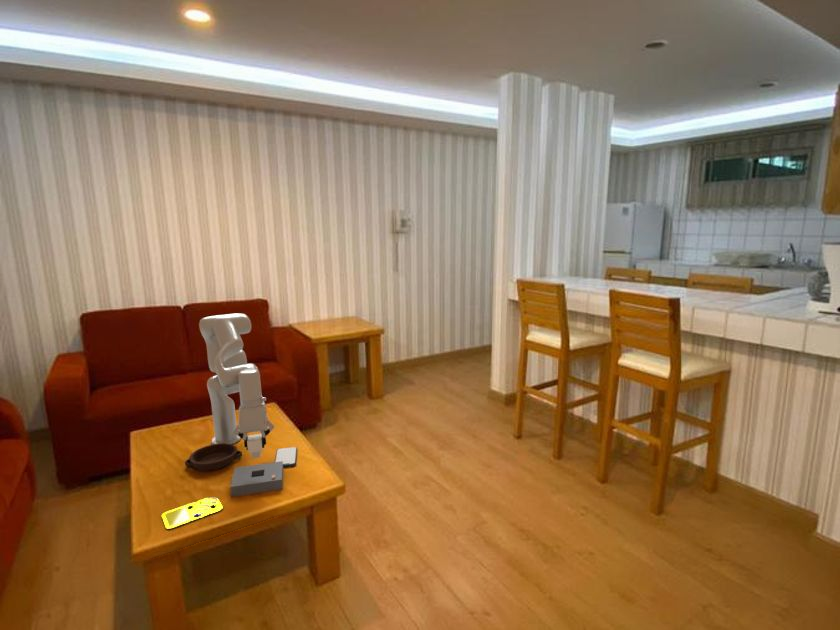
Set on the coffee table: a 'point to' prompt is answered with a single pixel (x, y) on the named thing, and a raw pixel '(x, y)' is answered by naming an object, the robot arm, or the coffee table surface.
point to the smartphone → (287, 456)
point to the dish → (213, 457)
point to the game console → (191, 512)
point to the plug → (255, 445)
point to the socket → (257, 479)
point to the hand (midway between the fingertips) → (255, 447)
